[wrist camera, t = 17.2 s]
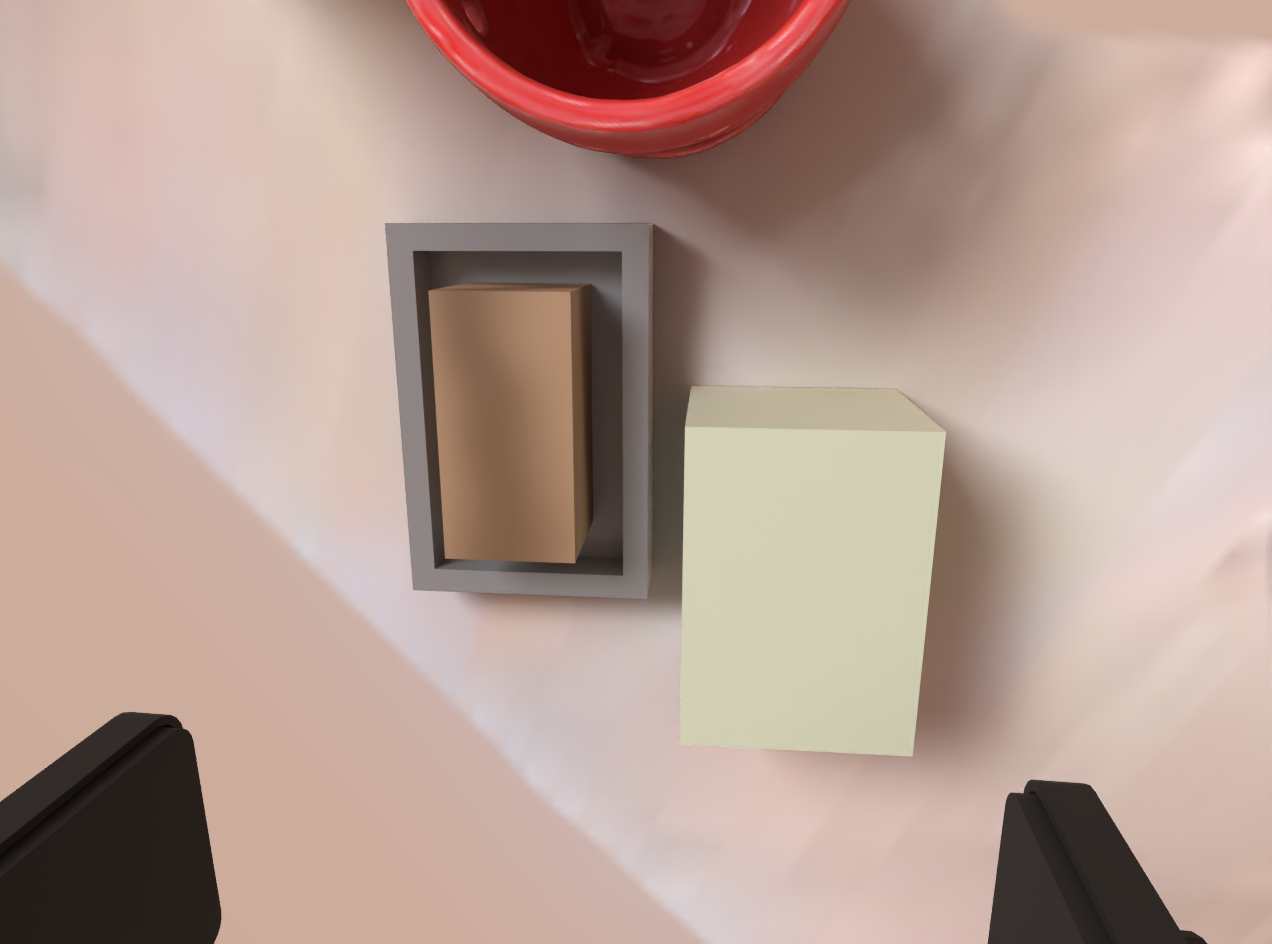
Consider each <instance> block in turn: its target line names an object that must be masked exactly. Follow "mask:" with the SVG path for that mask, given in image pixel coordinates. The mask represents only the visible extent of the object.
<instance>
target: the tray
mask: <svg viewBox="0 0 1272 944" xmlns="http://www.w3.org/2000/svg"><path fill="white" fill-rule="evenodd" d="M385 230H386V243H387V256H388V269H389V282H390V295H391V308H392V321H393V334H394V347H395V360H396V373H397V386H398V399H399V412H400V425H401V438H402V451H403V464H404V477H405V490H406V503H407V515H408V528H409V541H410V554H411V567H412V580H413V590H423V591H449V592H476V593H502V594H528V595H555V596H581V597H607V598H634V599H647V597H648V592H649V586H650V581H651V576H652V490H653V330H654V224H651V223H385ZM468 282H474V283H586V284H591V347H592V440H593V522H592V524H591V527H590V529H589V532H588V534H587V536H586V539H585V541H584V543H583V546H582V548H581V550H580V553H579V555H578V558H577V560H576V562H575V563H552V562H525V561H498V560H471V559H445V548H444V532H443V516H442V500H441V484H440V468H439V452H438V436H437V420H436V404H435V388H434V372H433V356H432V340H431V323H430V307H429V290H434V289H439V288H444V287H449V286H454V285H458V284H463V283H468Z"/></svg>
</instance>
